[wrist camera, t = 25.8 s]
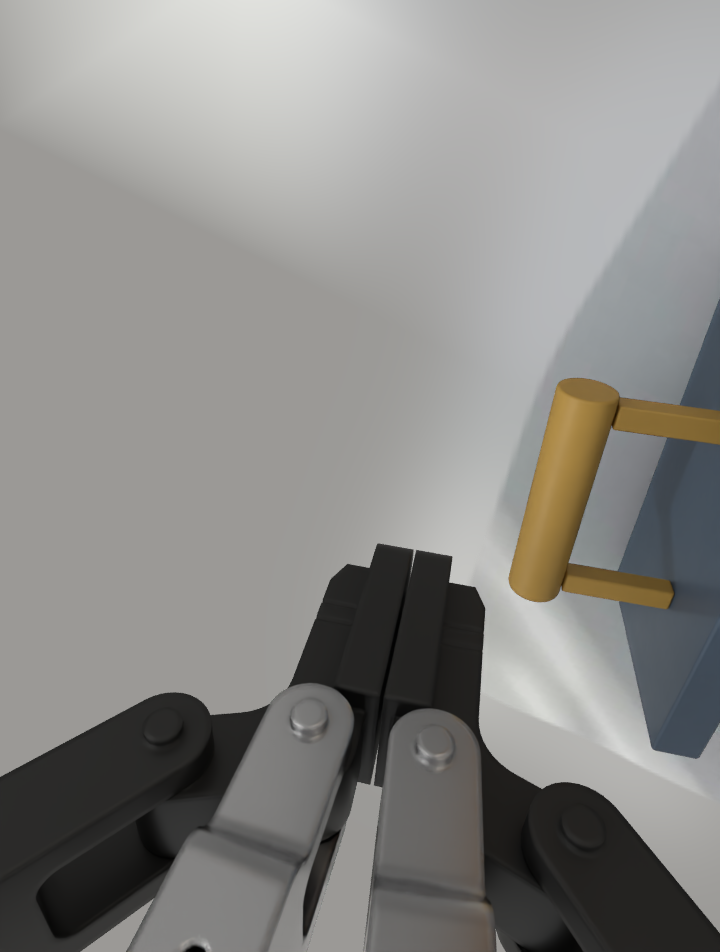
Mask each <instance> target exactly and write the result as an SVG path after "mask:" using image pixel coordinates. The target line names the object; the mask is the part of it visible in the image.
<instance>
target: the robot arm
mask: <svg viewBox="0 0 720 952" xmlns="http://www.w3.org/2000/svg"><path fill="white" fill-rule="evenodd" d="M412 561H413V550H412V549H407V548H401V547H395V546H390V545H384V544H377V546H376V549H375V552H374V556H373V559H372V562H371V565H370V568H366V567H361V566H355V565H350V564H347V565H346V566H345V567H344V568H342V569H341V570H340V571H339V572H338V573H337V574H336V575H335V576H334V577H333V578H332V579H331V580H330V582H329V585H328V587H327V590H326V593H325V595H324V598H323V603H321V606H320V608H319V611H318V614H317V618H316V619H315V622H314V624H313V627H312V629H311V632H310V635H309V637H308V640H307V642H306V645H305V648H304V650H303V653H302V656H301V658H300V661H299V663H298V666H297V669H296V671H295V674H294V677H293V679H292V681H291V683H290V685H289V687H288V688H287V689H286V690H284V691H283V692H281V693H280V694H278V695H277V696H276V697H275V698H274V699H273V700H272V702H271V703H270V704H269V705H267V706H265V707H262V708H260V709H257V710H254V711H249V712H242V713H232V714H219V715H210V713H209V711H208V709H207V707H206V706H205V705H204V704H203V703H202V702H201V701H200V700H198V699H197V698H195V697H193V696H191V695H188V694H184V693H164V694H159V695H156V696H153V697H150V698H148V699H146V700H144V701H142V702H140V703H138V704H137V705H135V706H133V707H131V708H129V709H127V710H125V711H123V712H121V713H120V714H118V715H116V716H114V717H112V718H110V719H108V720H106V721H105V722H103V723H101V724H99V725H97V726H95V727H93V728H91V729H90V730H88V731H86V732H84V733H82V734H80V735H78V736H76V737H75V738H73V739H71V740H69V741H67V742H65V743H63V744H61V745H60V746H58V747H56V748H54V749H52V750H50V751H48V752H46V753H45V754H43V755H41V756H39V757H37V758H35V759H33V760H31V761H29V762H28V763H26V764H24V765H22V766H20V767H18V768H16V769H14V770H13V771H11V772H9V773H7V774H5V775H3V776H1V777H0V952H80V951H82V950H83V949H85V948H86V947H87V946H89V945H90V944H91V943H93V942H94V941H96V940H97V939H98V938H100V937H101V936H103V935H104V934H105V933H107V932H108V931H109V930H111V929H112V928H114V927H115V926H116V925H117V924H119V923H120V922H122V921H123V920H125V919H126V918H127V917H129V916H130V915H131V914H133V913H134V912H135V911H137V910H138V909H140V908H141V907H142V906H144V905H145V904H146V903H148V902H149V901H150V900H152V899H153V898H154V900H153V902H152V904H151V905H150V907H149V909H148V911H147V913H146V915H145V917H144V919H143V921H142V923H141V925H140V927H139V928H138V930H137V932H136V934H135V936H134V938H133V940H132V942H131V944H130V946H129V948H128V949H127V951H126V952H307V950H308V946H309V943H310V940H311V936H312V933H313V930H314V927H315V924H316V920H317V917H318V914H319V911H320V907H321V904H322V901H323V898H324V895H325V891H326V888H327V885H328V882H329V879H330V875H331V872H332V869H333V866H334V863H335V859H336V856H337V853H338V850H339V847H340V843H341V840H342V837H343V834H344V830H345V826H346V821H347V819H348V817H349V814H350V811H351V807H352V803H353V798H354V794H355V790H356V785H357V782H361V783H365V784H370V783H371V778H372V774H373V769H374V764H375V759H376V754H377V750H378V755H377V764H376V773H375V782H374V785H375V786H379V787H382V795H381V803H380V811H379V820H378V826H377V834H376V842H375V851H374V860H373V869H372V877H371V886H370V895H369V904H368V913H367V922H366V931H365V940H364V949H363V952H496V931H497V934H498V937H499V940H500V942H501V944H502V946H503V947H504V949H505V951H506V952H720V933H719V932H718V930H717V929H716V928H715V927H714V926H713V924H712V923H711V922H710V921H709V920H708V918H707V917H706V916H705V915H704V914H703V912H702V911H701V910H700V909H699V908H698V906H697V905H696V904H695V903H694V901H693V900H692V899H691V898H690V897H689V895H688V894H687V893H686V892H685V891H684V889H683V888H682V887H681V886H680V885H679V883H678V882H677V881H676V880H675V878H674V877H673V876H672V875H671V874H670V872H669V871H668V870H667V869H666V867H665V866H664V865H663V864H662V863H661V861H660V860H659V859H658V858H657V857H656V855H655V854H654V853H653V852H652V850H651V849H650V848H649V847H648V846H647V844H646V843H645V842H644V841H643V840H642V838H641V837H640V836H639V835H638V834H637V832H636V831H635V830H634V829H633V827H632V826H631V825H630V824H629V823H628V821H627V820H626V819H625V818H624V817H623V815H622V814H621V813H620V812H619V811H618V809H617V808H616V807H615V806H614V805H613V804H612V803H611V802H610V801H609V800H607V799H606V798H605V797H604V796H602V795H600V794H599V793H598V792H596V791H594V790H592V789H590V788H588V787H586V786H583V785H580V784H575V783H568V782H561V783H555V784H551V785H549V786H546V787H545V788H543V789H541V788H539V787H537V786H535V785H534V784H532V783H530V782H528V781H526V780H525V779H523V778H521V777H519V776H517V775H516V774H514V773H512V772H511V771H509V770H508V769H506V768H505V767H504V766H503V765H501V764H500V763H499V762H498V761H497V760H496V759H495V758H494V757H493V756H492V754H491V753H490V752H489V750H488V749H487V747H486V745H485V743H484V742H483V739H482V736H481V734H480V729H479V704H480V687H481V671H482V654H483V652H482V650H483V637H484V634H483V633H484V621H485V607H484V605H483V602H482V600H481V598H480V596H479V594H478V592H477V590H476V587H471V586H465V585H460V584H454V583H449V578H450V571H451V564H452V556H447V555H441V554H436V553H430V552H425V551H419V550H416V554H415V558H414V563H413V567H412ZM411 567H412V572H411ZM410 576H411V577H410ZM378 745H379V747H378ZM495 928H496V930H495Z"/></svg>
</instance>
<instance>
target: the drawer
mask: <svg viewBox="0 0 720 952" xmlns="http://www.w3.org/2000/svg"><path fill="white" fill-rule="evenodd" d="M611 425H612V427H613V429H614V430H619V431H626V432H633V433H640V434H647V435H654V436H661V437H668V438H667V441H666V443H665V446H664V449H663V451H662V454H661V457H660V459H659V462H658V465H657V467H656V470H655V473H654V475H653V478H652V481H651V483H650V486H649V489H648V491H647V494H646V497H645V500H644V502H643V505H642V508H641V510H640V513H639V516H638V518H637V521H636V524H635V526H634V529H633V532H632V534H631V537H630V540H629V542H628V545H627V548H626V550H625V553H624V556H623V558H622V561H621V564H620V566H619V569H618V571H612V570H606V569H600V568H595V567H589V566H583V565H577V564H571V563H568V562H569V559H570V556H571V552H572V549H573V546H574V543H575V540H576V537H577V533H578V530H579V527H580V524H581V521H582V518H583V514H584V511H585V508H586V505H587V502H588V498H589V495H590V492H591V489H592V486H593V483H594V479H595V476H596V473H597V470H598V467H599V463H600V460H601V457H602V454H603V451H604V448H605V444H606V441H607V438H608V435H609V432H610V429H611ZM509 584H510V586H511V588H512V590H513V591H514V592H515V593H516V594H518V595H519V596H521V597H522V598H524V599H527V600H530V601H534V602H547V601H550V600H552V599H554V598H555V597H556V596H557V595H558V593H559V591H560V587H562V590H563V591H565V592H570V593H576V594H582V595H587V596H593V597H599V598H604V599H610V600H616V601H619V603H620V608H621V612H622V617H623V621H624V626H625V630H626V635H627V639H628V644H629V648H630V653H631V657H632V662H633V666H634V671H635V675H636V679H637V684H638V688H639V693H640V697H641V702H642V706H643V711H644V715H645V720H646V724H647V729H648V733H649V738H650V742H651V747H652V749H653V750H656V751H661V752H666V753H671V754H675V755H680V756H685V757H690V758H695V759H697V758H699V757H700V755H701V754H702V752H703V750H704V749H705V747H706V745H707V743H708V742H709V740H710V738H711V737H712V735H713V733H714V732H715V730H716V728H717V727H718V725H719V723H720V299H719V302H718V304H717V307H716V310H715V312H714V315H713V318H712V320H711V323H710V326H709V328H708V331H707V334H706V336H705V339H704V342H703V344H702V347H701V350H700V352H699V355H698V358H697V361H696V363H695V366H694V369H693V371H692V374H691V377H690V379H689V382H688V385H687V387H686V390H685V393H684V395H683V398H682V401H681V403H680V405H673V404H665V403H658V402H650V401H643V400H635V399H628V398H620V396H619V393H618V392H617V391H616V390H615V389H614V388H612V387H611V386H609V385H607V384H604V383H602V382H599V381H595V380H591V379H584V378H569V379H564V380H562V381H560V382H559V383H558V385H557V387H556V391H555V395H554V399H553V403H552V407H551V411H550V415H549V419H548V422H547V426H546V430H545V434H544V438H543V442H542V446H541V450H540V454H539V458H538V462H537V466H536V470H535V474H534V478H533V482H532V486H531V490H530V494H529V498H528V502H527V506H526V510H525V514H524V518H523V522H522V526H521V530H520V534H519V538H518V542H517V546H516V550H515V554H514V558H513V562H512V566H511V570H510V574H509Z"/></svg>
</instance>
